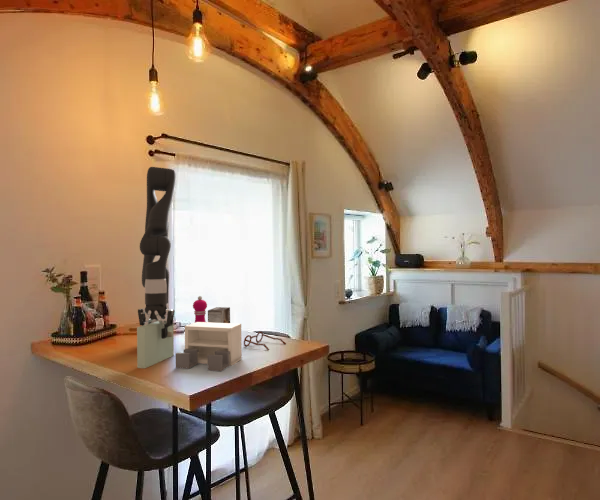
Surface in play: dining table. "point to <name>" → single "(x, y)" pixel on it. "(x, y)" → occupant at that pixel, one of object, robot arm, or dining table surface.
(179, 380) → the dining table surface
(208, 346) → the cabinet
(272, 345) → the dining table surface
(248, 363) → the dining table surface
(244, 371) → the dining table surface
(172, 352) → the door
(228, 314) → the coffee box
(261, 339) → the glasses
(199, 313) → the pepper mill
